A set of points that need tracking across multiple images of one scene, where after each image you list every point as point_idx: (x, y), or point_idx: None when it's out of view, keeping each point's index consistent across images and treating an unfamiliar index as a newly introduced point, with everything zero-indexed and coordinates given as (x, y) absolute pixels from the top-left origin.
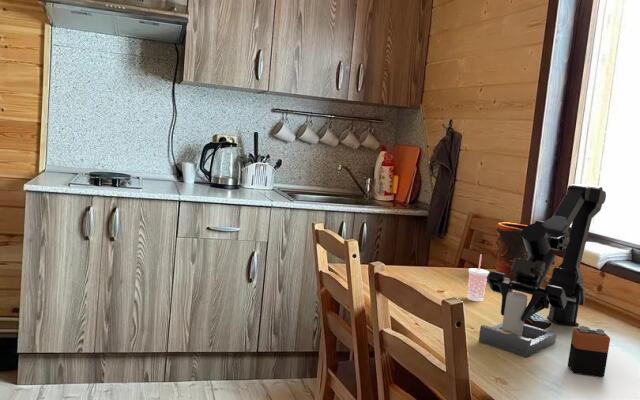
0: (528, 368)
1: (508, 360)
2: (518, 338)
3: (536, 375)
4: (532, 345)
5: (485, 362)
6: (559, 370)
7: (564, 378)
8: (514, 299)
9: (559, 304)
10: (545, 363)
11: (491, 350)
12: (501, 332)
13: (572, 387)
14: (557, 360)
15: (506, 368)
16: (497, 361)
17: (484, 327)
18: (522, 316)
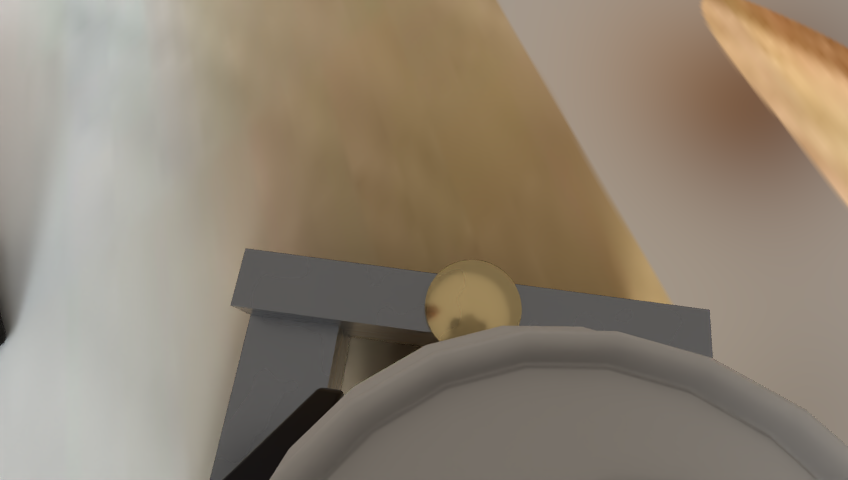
0: (240, 117)
1: (364, 149)
2: (337, 261)
3: (186, 56)
4: (241, 360)
5: (450, 32)
6: (67, 226)
7: (40, 124)
8: (524, 326)
9: None
10: (158, 281)
11: (502, 234)
12: (495, 267)
13: (3, 39)
14: (81, 420)
15: (339, 34)
16: (407, 89)
17: (666, 304)
18: (326, 411)
